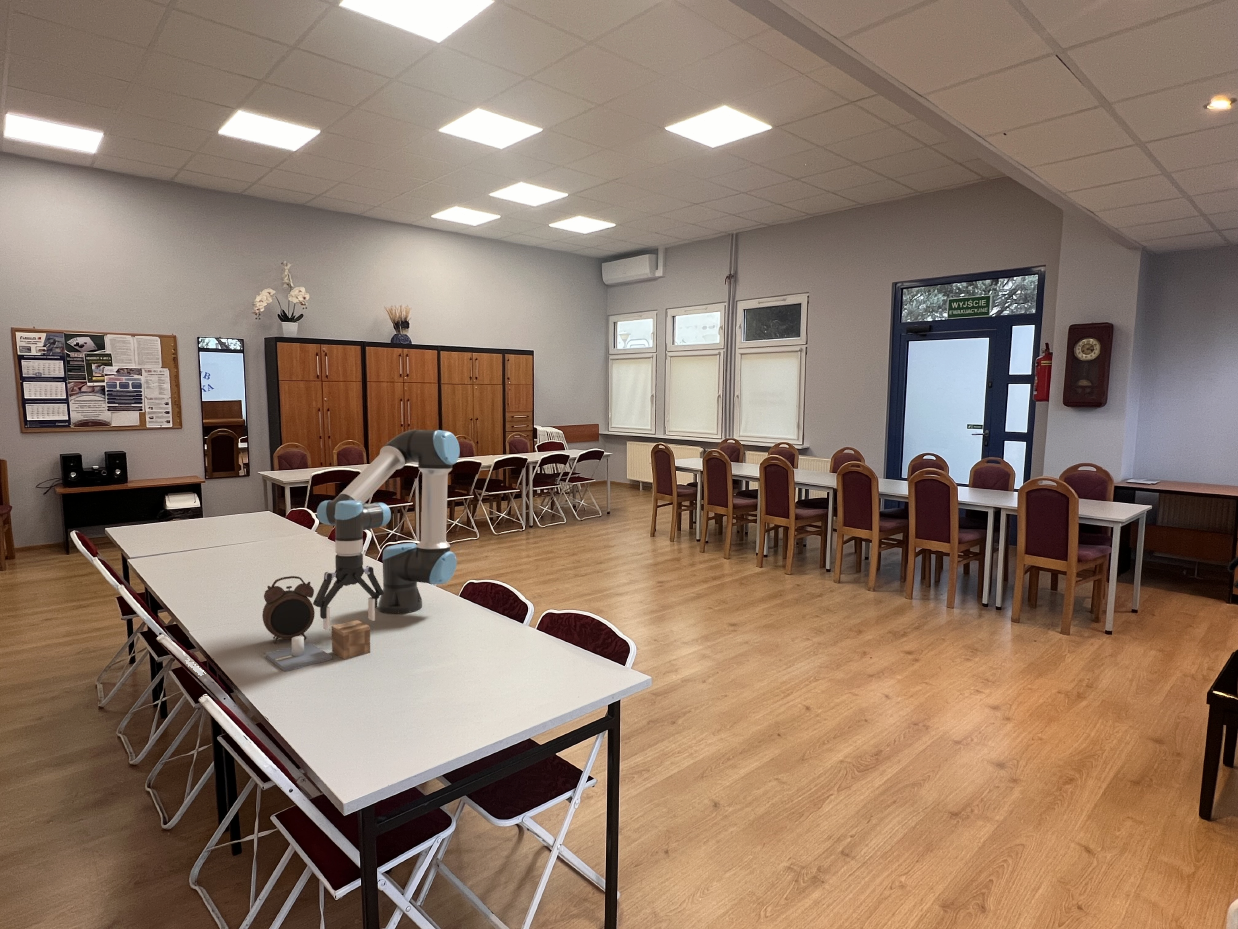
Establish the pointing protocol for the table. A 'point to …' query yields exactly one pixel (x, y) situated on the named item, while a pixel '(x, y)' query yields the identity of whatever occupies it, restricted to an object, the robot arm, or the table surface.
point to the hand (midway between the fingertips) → (349, 624)
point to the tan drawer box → (350, 639)
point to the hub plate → (298, 661)
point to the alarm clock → (288, 610)
